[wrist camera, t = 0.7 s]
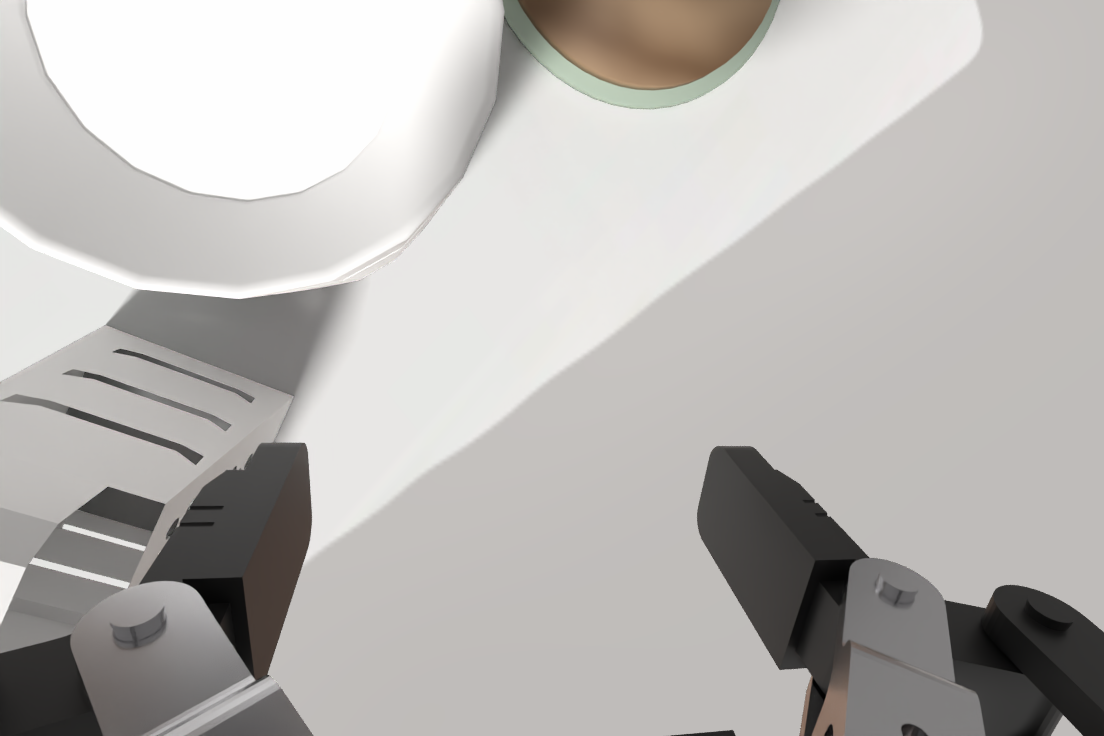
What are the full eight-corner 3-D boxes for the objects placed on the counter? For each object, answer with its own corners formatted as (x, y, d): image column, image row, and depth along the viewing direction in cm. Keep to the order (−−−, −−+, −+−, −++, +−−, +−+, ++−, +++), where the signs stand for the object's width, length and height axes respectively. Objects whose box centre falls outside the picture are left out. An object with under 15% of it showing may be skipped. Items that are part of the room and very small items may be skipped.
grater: (294, 396, 36) (193, 524, 17) (223, 552, 37) (48, 849, 18) (105, 324, 33) (-272, 386, 14) (29, 496, 33) (-443, 783, 14)
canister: (85, 44, 31) (-383, -325, 12) (379, -33, 34) (373, -423, 15) (226, 328, 35) (36, 388, 16) (481, 235, 38) (577, 191, 19)
